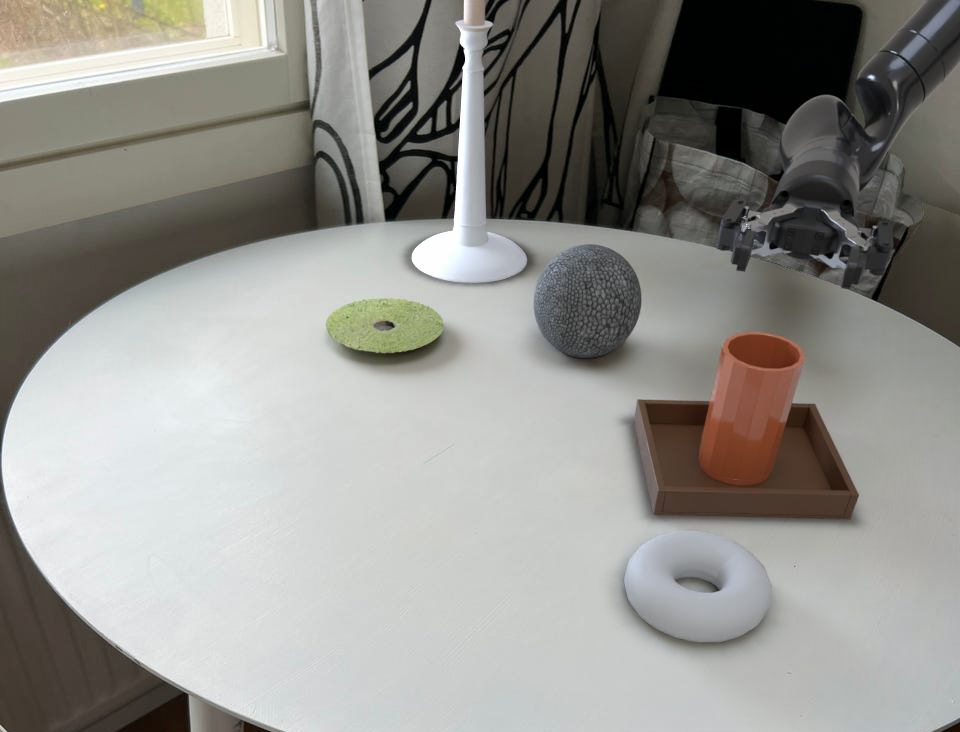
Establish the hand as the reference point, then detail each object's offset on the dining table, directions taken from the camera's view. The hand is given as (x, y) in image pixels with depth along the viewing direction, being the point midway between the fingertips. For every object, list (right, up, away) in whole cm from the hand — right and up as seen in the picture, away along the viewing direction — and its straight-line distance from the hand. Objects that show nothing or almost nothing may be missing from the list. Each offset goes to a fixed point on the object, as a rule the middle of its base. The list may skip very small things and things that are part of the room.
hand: (795, 268), depth 77 cm
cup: (-5, -16, 0) cm, 17 cm away
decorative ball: (-16, -3, +15) cm, 22 cm away
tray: (-5, -17, 0) cm, 17 cm away
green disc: (-35, -1, +15) cm, 38 cm away
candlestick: (-27, +12, +29) cm, 41 cm away
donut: (-11, -28, -11) cm, 32 cm away
